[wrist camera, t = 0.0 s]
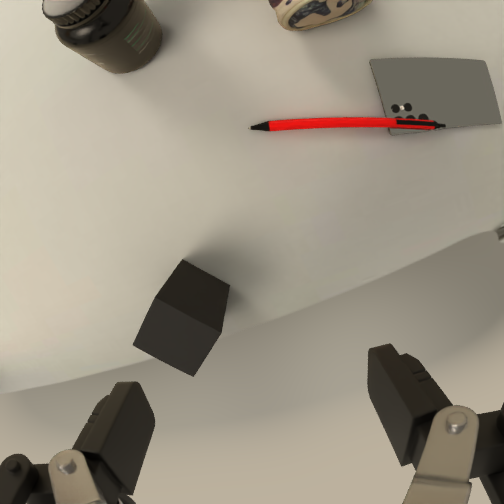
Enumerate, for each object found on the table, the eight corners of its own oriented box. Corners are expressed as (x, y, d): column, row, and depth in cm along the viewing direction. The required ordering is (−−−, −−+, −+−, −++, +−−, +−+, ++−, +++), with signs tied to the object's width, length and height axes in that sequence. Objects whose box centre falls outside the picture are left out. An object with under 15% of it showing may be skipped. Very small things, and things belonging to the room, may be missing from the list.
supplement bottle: (87, 64, 23) (14, 26, 12) (123, 9, 22) (69, -50, 10) (138, 84, 24) (74, 41, 13) (177, 25, 23) (138, -44, 11)
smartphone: (502, 123, 24) (393, 135, 25) (499, 124, 25) (390, 136, 26) (484, 60, 22) (370, 58, 23) (482, 61, 23) (368, 60, 24)
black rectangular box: (207, 322, 30) (193, 377, 21) (162, 297, 29) (132, 345, 21) (229, 285, 29) (221, 332, 20) (182, 259, 29) (154, 296, 20)
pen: (443, 130, 25) (449, 129, 24) (249, 133, 26) (248, 132, 24) (442, 121, 25) (448, 120, 23) (248, 123, 25) (247, 121, 24)
